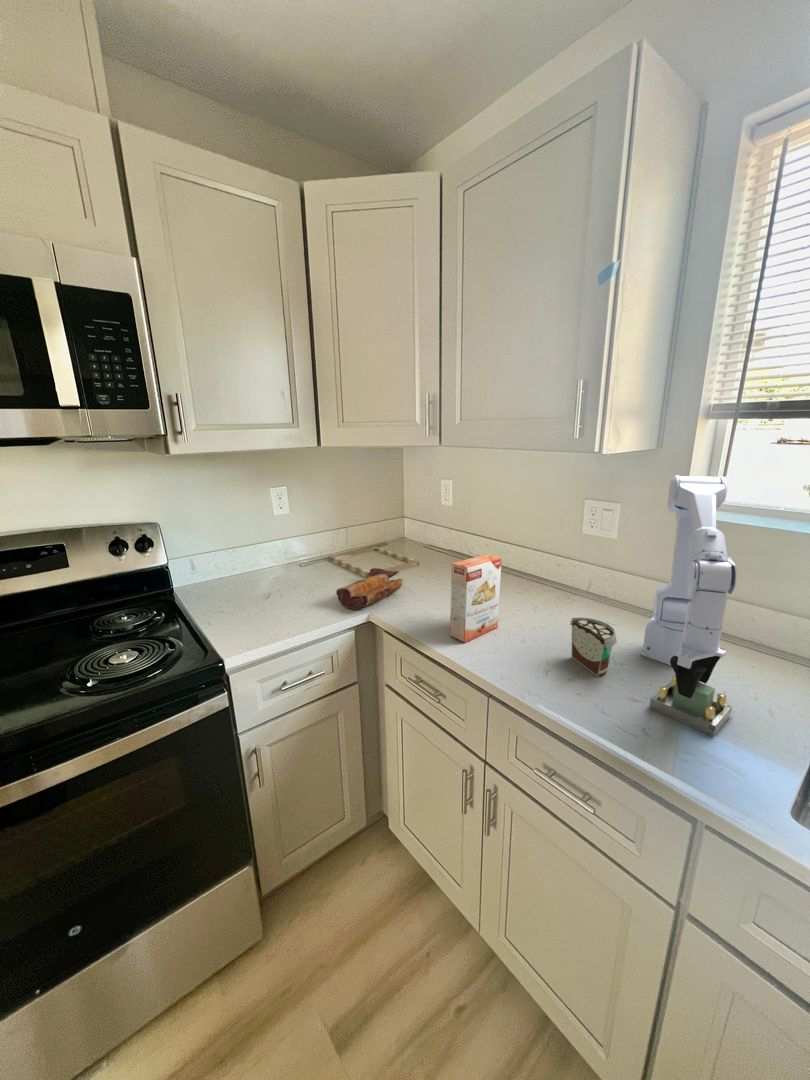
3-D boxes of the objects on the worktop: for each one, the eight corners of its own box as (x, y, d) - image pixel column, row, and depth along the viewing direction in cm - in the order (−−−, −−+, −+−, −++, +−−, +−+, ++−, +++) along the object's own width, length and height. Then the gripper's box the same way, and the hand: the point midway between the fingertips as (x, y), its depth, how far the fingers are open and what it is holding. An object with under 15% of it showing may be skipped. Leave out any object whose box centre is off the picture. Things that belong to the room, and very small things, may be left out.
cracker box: (465, 644, 115) (467, 567, 110) (449, 636, 120) (449, 562, 114) (499, 628, 124) (502, 557, 119) (483, 622, 128) (485, 552, 123)
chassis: (649, 708, 88) (652, 687, 87) (668, 691, 93) (671, 672, 92) (713, 736, 79) (717, 714, 78) (730, 716, 85) (734, 695, 84)
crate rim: (329, 562, 188) (328, 556, 187) (375, 552, 202) (375, 546, 202) (369, 581, 164) (369, 573, 164) (419, 568, 179) (418, 561, 178)
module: (672, 705, 87) (675, 680, 86) (679, 698, 89) (683, 673, 88) (703, 718, 83) (708, 692, 81) (710, 711, 85) (715, 685, 84)
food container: (625, 676, 99) (630, 635, 97) (602, 680, 98) (607, 639, 95) (588, 650, 111) (592, 613, 108) (567, 654, 109) (570, 617, 107)
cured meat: (376, 564, 162) (377, 582, 163) (326, 583, 142) (327, 603, 144) (416, 573, 151) (416, 592, 153) (367, 595, 132) (368, 616, 133)
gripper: (714, 642, 74) (702, 712, 78) (742, 619, 83) (730, 683, 86) (669, 628, 80) (659, 694, 83) (699, 607, 88) (690, 668, 92)
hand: (692, 687), depth 85 cm, fingers open, 7 cm apart
